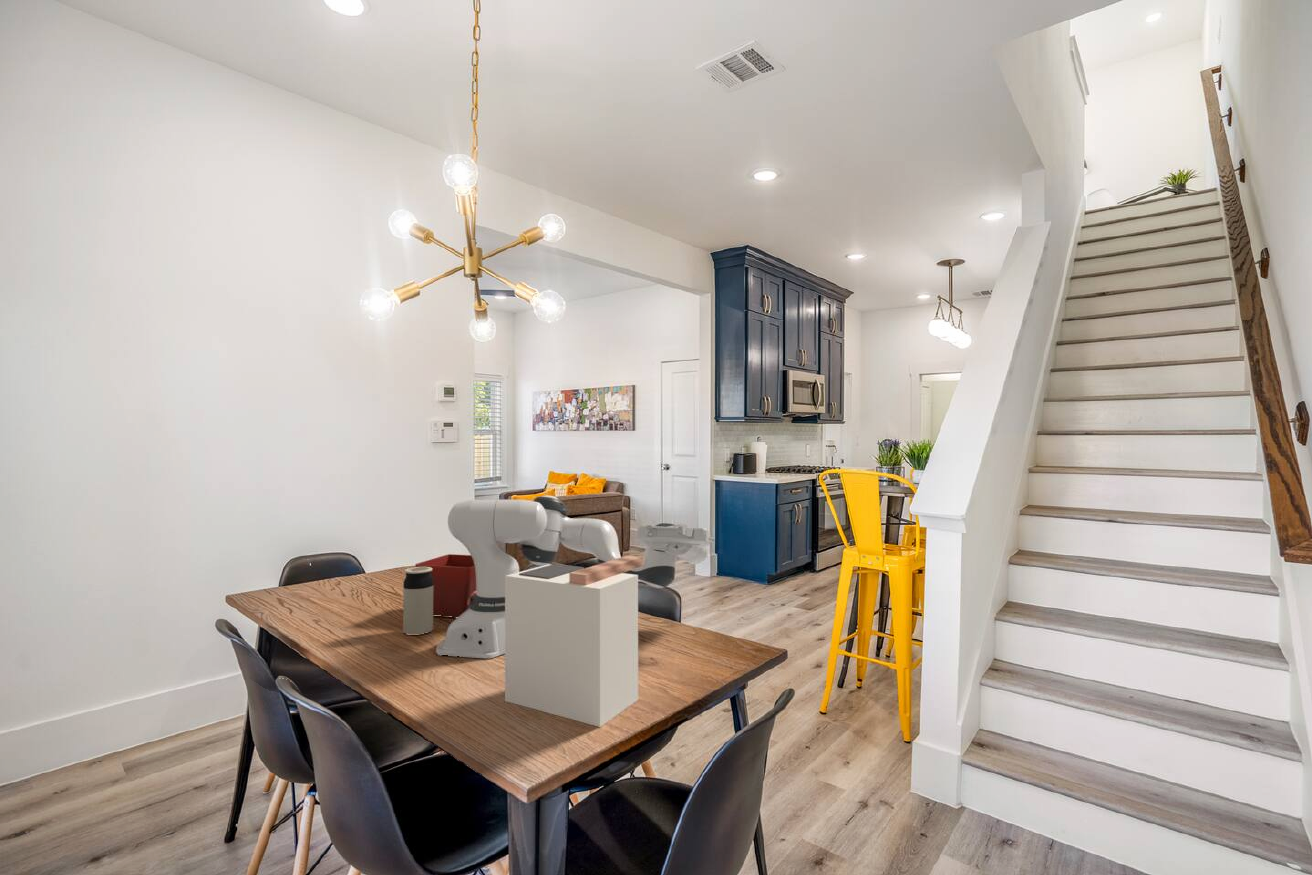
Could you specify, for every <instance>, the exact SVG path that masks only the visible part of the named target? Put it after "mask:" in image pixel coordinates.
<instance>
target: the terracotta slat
mask: <svg viewBox="0 0 1312 875" xmlns="http://www.w3.org/2000/svg"><path fill="white" fill-rule="evenodd" d="M643 560H644V556H639V555H638V556H637V555H624V556H621V558H618V559H615V560H611V561H608V562H605V563H601V564H599V563H598V564H595V565H592V566H589V567H584V569H581V570H578V571H575V572H571V573H569V583H571V584H579V585H589V584H592V583H595V582H598V581H600V580H603V579H606V578H609V577H612V576H615V575H618V574H621V573H624V572H627V571H630V570H632V569H635V568H638V567H641V566H643Z"/></svg>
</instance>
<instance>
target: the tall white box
mask: <svg viewBox="0 0 1312 875" xmlns="http://www.w3.org/2000/svg"><path fill="white" fill-rule="evenodd" d="M581 569H585V567H584V566H578V565H568V564H561V563H559V564H558V563H552V564H547V565H539V566H536V567H533V568H530V569H526V570H523V571H519V572H518V573H514V574H510V575H507V576H505V654H504V701H505V702H507V703H511V704H516V705H519V706H522V707H526V708H530V709H534V710H537V711H540V712H544V713H547V714H552V715H556V716H558V717H563V718H566V719H568V720H569V719H570V720H573V721H577V722H580V723H585V724H587V725H591V726H595V727H599V728H601V727H603V726H604V725H605V724H607V723H608V722H610V720H612V719H613V718H615V717H616V716H617V715H619V714H620V713H622V712H623V711H624V710H626V709H627V708H629V707H630V706H632V705H633V704H634V703H635V702H637V701H638V700H639V579H638V575H634V574H625V573H621V574H618V575H615V576H612V577H609V578H606V579H603V580H600V581H598V582H595V583H592V584H589V585H579V584H571V583H569V573H571V572H575V571H578V570H581Z"/></svg>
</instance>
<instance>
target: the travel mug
mask: <svg viewBox="0 0 1312 875" xmlns="http://www.w3.org/2000/svg"><path fill="white" fill-rule="evenodd" d="M431 571H432V568H431V567H416V566H415V567H409V568H406V569H404V572H405V578H404V581H403V600H402V601H403V603H402V604H403V606H402V607H403V608H402V610H403V616H402V618H403V620H402V622H403V624H402V627H403V628H402V632H404V633H407V634H422V633H426V632H429V631H431V632H433V631H432V630H434V616H433V578H432V576H431ZM404 633H403V634H404Z"/></svg>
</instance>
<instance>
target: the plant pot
mask: <svg viewBox="0 0 1312 875" xmlns="http://www.w3.org/2000/svg"><path fill="white" fill-rule="evenodd" d="M415 567H431V568H432V571H431V576H432V578H433V615H441V616H452V617H459V616H460V615H461V614H462V613H464V612H465V611H466V610H467V609H469V604H467V603H468V601H467V600H468V599H469V597H470V596H471V594H472V593H473V592H474V591H476V572H475V565H474V561H473V558H472V556H471V554H468V555H467V554H453V553H451V554H450V553H449V554H445V555H441V556H438V557H435V558H431V559H427V560H424V561H421V562H418V563H415Z"/></svg>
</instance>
